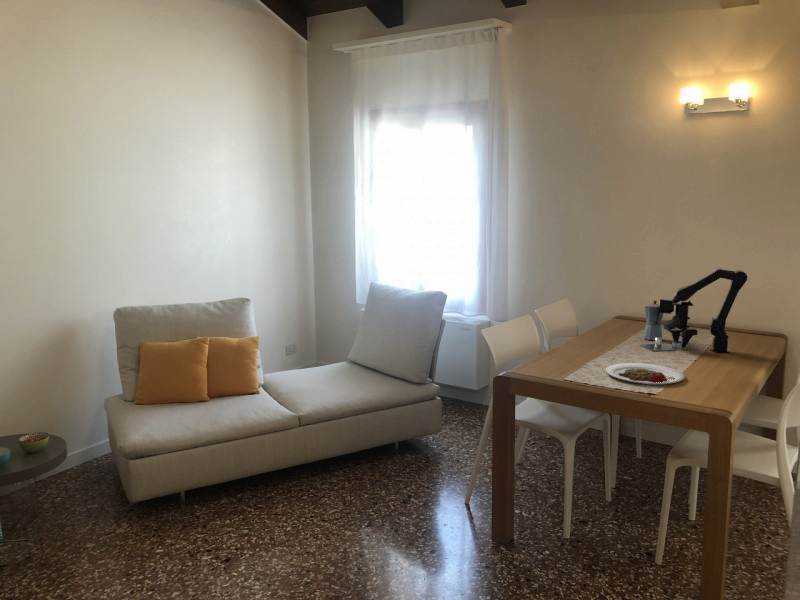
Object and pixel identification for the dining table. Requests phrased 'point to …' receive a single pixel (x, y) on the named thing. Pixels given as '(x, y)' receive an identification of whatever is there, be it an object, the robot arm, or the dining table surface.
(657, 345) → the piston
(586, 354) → the dining table surface
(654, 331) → the moka pot
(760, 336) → the dining table surface
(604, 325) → the dining table surface
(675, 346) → the ring
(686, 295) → the robot arm
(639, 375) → the plated food
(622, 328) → the dining table surface
